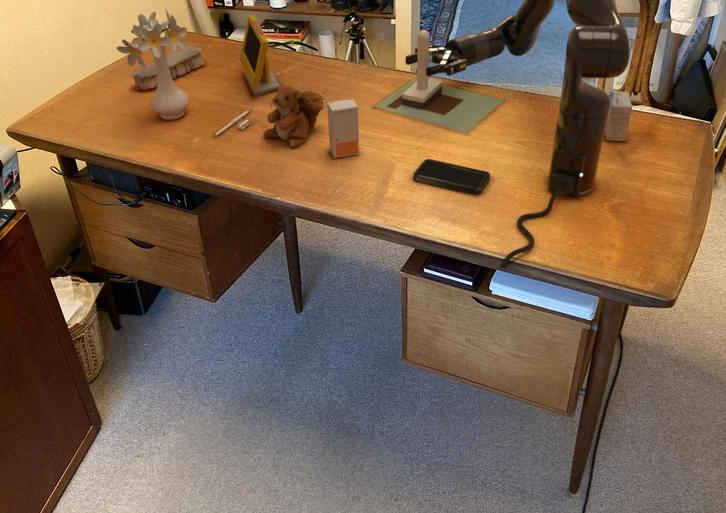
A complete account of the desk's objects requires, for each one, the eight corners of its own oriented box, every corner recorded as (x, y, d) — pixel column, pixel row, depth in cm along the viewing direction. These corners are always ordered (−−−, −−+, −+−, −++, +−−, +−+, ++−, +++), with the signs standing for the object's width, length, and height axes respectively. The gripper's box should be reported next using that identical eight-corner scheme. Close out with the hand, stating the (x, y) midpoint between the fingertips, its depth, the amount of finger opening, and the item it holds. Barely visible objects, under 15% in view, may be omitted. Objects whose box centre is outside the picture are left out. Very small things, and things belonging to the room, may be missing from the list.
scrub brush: (423, 109, 175) (424, 40, 164) (401, 105, 177) (402, 36, 166) (442, 92, 182) (444, 24, 171) (421, 87, 185) (422, 21, 174)
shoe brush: (192, 57, 207) (188, 41, 204) (210, 62, 203) (207, 46, 200) (129, 88, 191) (124, 71, 188) (148, 94, 188) (143, 77, 185)
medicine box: (625, 142, 160) (633, 107, 154) (605, 140, 160) (612, 106, 155) (622, 125, 166) (629, 91, 160) (602, 124, 166) (609, 90, 161)
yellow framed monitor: (241, 72, 198) (233, 16, 188) (268, 67, 199) (262, 12, 189) (254, 101, 182) (246, 42, 173) (284, 96, 184) (277, 37, 174)
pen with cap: (247, 111, 178) (246, 104, 177) (262, 114, 176) (261, 107, 175) (214, 136, 168) (213, 128, 167) (229, 140, 167) (227, 132, 165)
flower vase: (131, 130, 172) (104, 29, 157) (167, 97, 186) (145, 2, 171) (179, 135, 169) (156, 34, 154) (212, 102, 183) (194, 5, 168)
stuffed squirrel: (260, 138, 167) (253, 86, 159) (304, 117, 175) (300, 66, 166) (287, 152, 161) (281, 99, 153) (332, 130, 169) (329, 78, 161)
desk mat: (465, 133, 165) (465, 132, 165) (374, 107, 177) (374, 106, 177) (503, 101, 178) (503, 100, 178) (415, 78, 190) (415, 77, 190)
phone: (479, 191, 144) (411, 175, 149) (478, 195, 144) (411, 179, 150) (491, 172, 149) (426, 157, 155) (491, 176, 150) (426, 162, 155)
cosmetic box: (334, 159, 158) (330, 110, 151) (329, 150, 161) (326, 102, 154) (360, 154, 159) (358, 106, 152) (355, 146, 162) (353, 98, 155)
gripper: (450, 28, 182) (399, 42, 176) (487, 44, 173) (434, 61, 166) (449, 55, 187) (399, 71, 180) (484, 73, 178) (433, 90, 171)
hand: (416, 66), depth 173 cm, fingers open, 8 cm apart
